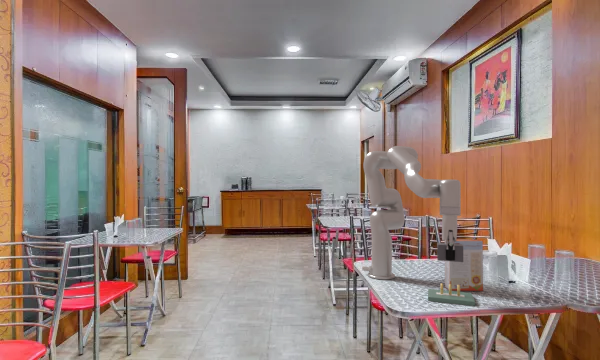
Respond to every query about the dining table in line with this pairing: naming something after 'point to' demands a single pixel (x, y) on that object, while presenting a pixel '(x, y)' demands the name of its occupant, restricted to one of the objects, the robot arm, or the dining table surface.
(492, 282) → the dining table surface
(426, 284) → the dining table surface
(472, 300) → the header board
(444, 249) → the block
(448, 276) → the cracker box
